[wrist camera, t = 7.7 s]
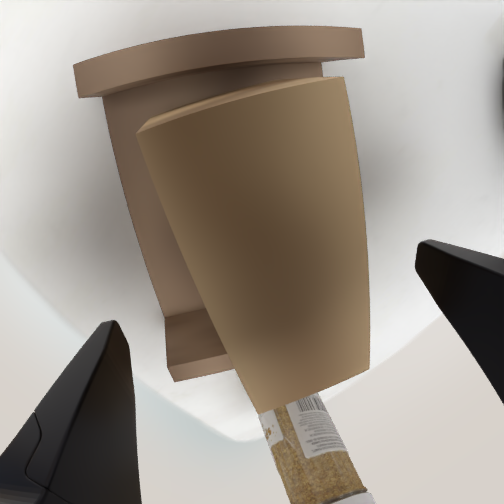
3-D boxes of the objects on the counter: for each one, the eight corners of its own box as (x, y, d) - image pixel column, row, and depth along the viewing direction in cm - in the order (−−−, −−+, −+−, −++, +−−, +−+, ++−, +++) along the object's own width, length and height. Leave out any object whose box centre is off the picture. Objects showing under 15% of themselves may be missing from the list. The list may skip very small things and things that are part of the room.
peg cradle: (313, 40, 13) (361, 28, 9) (327, 286, 20) (360, 330, 16) (100, 72, 11) (72, 64, 8) (169, 326, 19) (174, 382, 15)
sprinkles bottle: (232, 378, 22) (287, 553, 11) (279, 341, 21) (363, 522, 10) (272, 397, 24) (330, 544, 13) (315, 364, 24) (394, 514, 12)
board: (274, 80, 10) (343, 76, 6) (319, 296, 15) (369, 369, 11) (150, 117, 10) (135, 133, 6) (231, 329, 15) (258, 414, 11)
